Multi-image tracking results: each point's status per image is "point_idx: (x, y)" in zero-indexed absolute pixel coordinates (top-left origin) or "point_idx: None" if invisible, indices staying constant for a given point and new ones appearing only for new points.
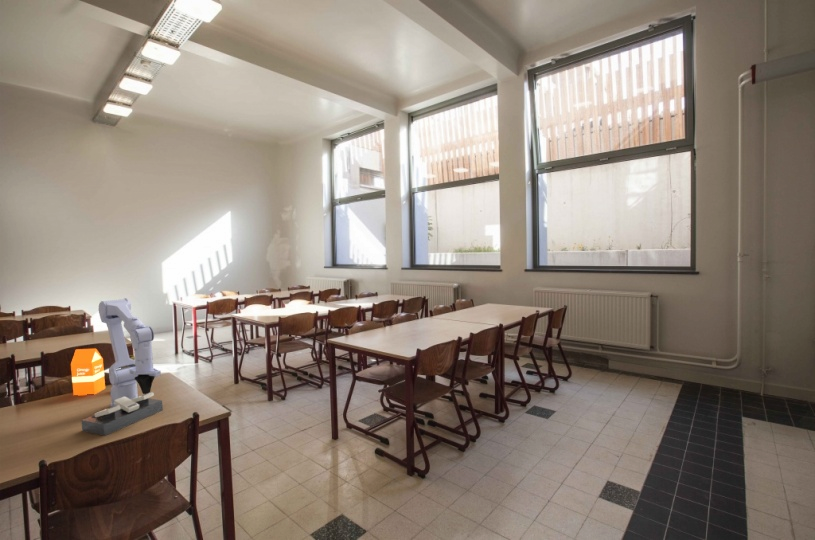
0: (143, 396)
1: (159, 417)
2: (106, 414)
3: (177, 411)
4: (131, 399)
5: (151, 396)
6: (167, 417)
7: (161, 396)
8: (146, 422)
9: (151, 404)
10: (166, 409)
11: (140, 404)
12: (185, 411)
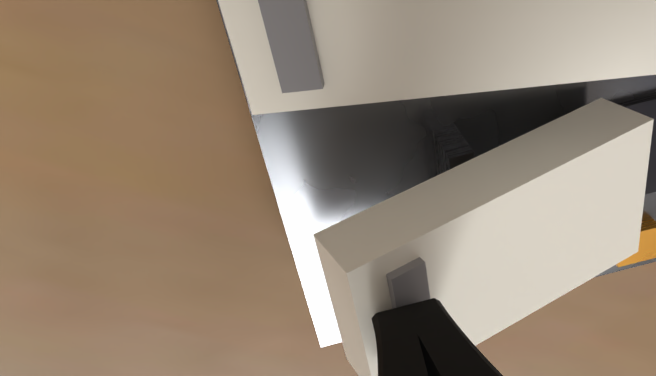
0: (342, 263)
1: (110, 174)
2: None
3: (124, 326)
4: (623, 132)
5: (339, 329)
6: (27, 221)
7: (649, 357)
8: (71, 26)
9: (296, 239)
10: (287, 287)
11: (437, 158)
12: (51, 364)
